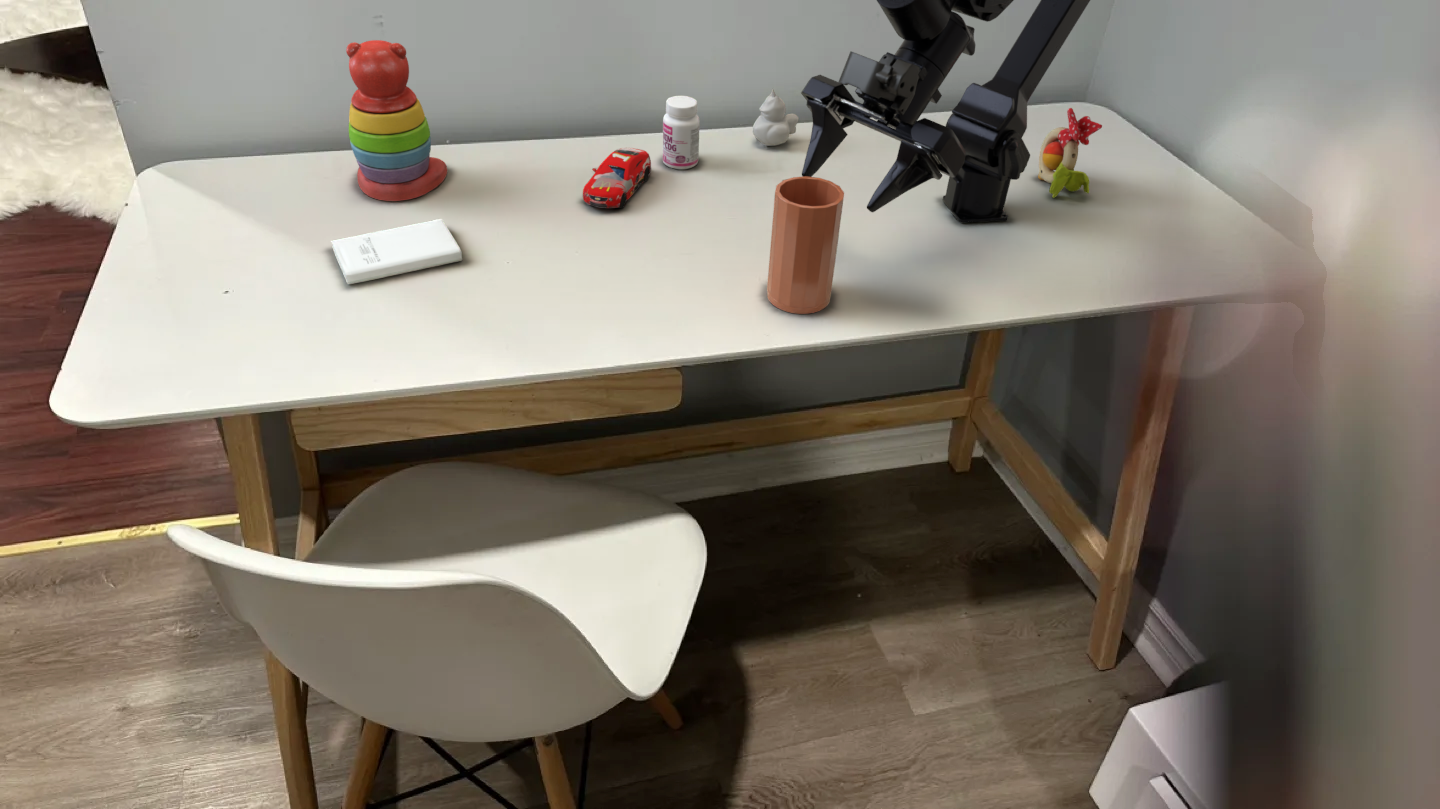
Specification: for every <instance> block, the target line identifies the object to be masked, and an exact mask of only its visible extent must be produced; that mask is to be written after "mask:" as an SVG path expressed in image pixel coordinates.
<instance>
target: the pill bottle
mask: <svg viewBox="0 0 1440 809" xmlns="http://www.w3.org/2000/svg"><path fill="white" fill-rule="evenodd" d="M697 113H698V101H697V100H696V98H694V97H691V96H687V95H673V96H670V97H668V98H667V99H666V101H665V114H664V115H663V118H662V162H663V164H664V165H665V166H667V167H669V168H670V169H675V170H688V169H691V168H694V167H695V166H696V165H698V162H699V154H700V152H699V151H700V150H699V149H700V125H701V124H700V123H701V122H700V117H699V115H698V114H697Z"/></svg>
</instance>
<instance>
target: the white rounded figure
mask: <svg viewBox="0 0 1440 809" xmlns="http://www.w3.org/2000/svg"><path fill="white" fill-rule="evenodd" d="M759 111H760V115H759V116H758V117H757V118H756V120H755V122H754V123H753V125H752V135H753V136H754V137H755V138H756V140H757V141H758V142H760V143H761V144H762V145H764V146H767V147H774V146H780V145H782V144H784V143H786V142H787V141H788V139H789V136H790V135H793V134H795V133H796V132H797V124H798V122H799V115H797V114H795V113H788V114H786V112H787V107H786V103H785V102H784V100H783V99H782V98H781V97H779V95H777V94H776V91H775V89H774V87H772V89H771V93H770V94H769V95H768V96H766V97H765V100H764V101H763V103H762V104H761V105H760V107H759ZM785 114H786V115H785Z"/></svg>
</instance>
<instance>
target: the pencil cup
mask: <svg viewBox="0 0 1440 809" xmlns="http://www.w3.org/2000/svg"><path fill="white" fill-rule="evenodd" d="M773 200H774V201H773V211H772V212H773V213H772V226H771V236H770V248H769V260H768V271H767V272H768V273H767V282H766V283H767V284H766V297H767V300H768V301H769V302H770V304H771V305H772V306H774V307H775V308H777V309H779V310H781V311H783V312H787V313H791V314H797V315H807V314H814V313H818V312H820V311H822V310H824V309H825V308H827V307H828V305H829V304H830V302H831V297H832V289H833V282H834V275H835V274H834V273H835V266H836V258H837V251H838V244H839V236H840V228H841V221H842V213H843V206H844V200H845V192H844V190H843V189H842V187H841V186H840V185H838V184H837V183H834V182H833V181H831V180H828V179H825V178H821V177H815V176H812V177H807V176H804V177H803V176H793V177H790V178H785V179H783V180H782V181H780V182H779V183H777V185H776V186H775V191H774V199H773Z"/></svg>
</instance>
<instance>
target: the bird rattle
mask: <svg viewBox="0 0 1440 809" xmlns="http://www.w3.org/2000/svg"><path fill="white" fill-rule="evenodd" d="M1066 112H1067V113H1066V114H1067V119H1068V127H1065V126H1064V127H1063V126H1058V127H1056V128H1053V129H1052V130H1050V131H1049V132H1048V133H1047V134H1046V136H1045V138H1044V139H1043V141H1042V144H1041V146H1040V149H1039V156H1038V175H1037V179H1038V180H1040V181H1045V182H1046V183H1048V184H1050V187H1049V190H1048V191H1049V192H1048V193H1049V194H1052V198H1053V199H1054V198H1056V197H1057V196H1059V194H1060V192H1062V190H1063V189H1064V188H1065V189H1066V190H1067V191H1068V192H1071V193H1072V192H1077V191H1079V190H1080V189H1081V188H1082V190H1083V192H1084V193H1086V194H1090V178H1089V176H1088V175H1087V173H1086V172H1084V171H1081V170H1075V167H1076V165H1077V161H1078V155H1079V145H1080V143H1081V144H1082V145H1083V146H1088V145H1089V144H1090V140H1089V137H1090V136H1092V135H1093V134H1095V133H1096V132H1098V131H1099V130H1101V129H1102V128H1103V125H1102V124H1101V123H1098V122H1096V121H1093V120H1092V119H1091V117H1090V116H1088V115H1084V116H1082V117H1081V118H1080V119H1078V120H1077V117H1076V114H1075V112H1074V109H1073V107H1069V108H1068V109H1067V111H1066Z"/></svg>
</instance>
